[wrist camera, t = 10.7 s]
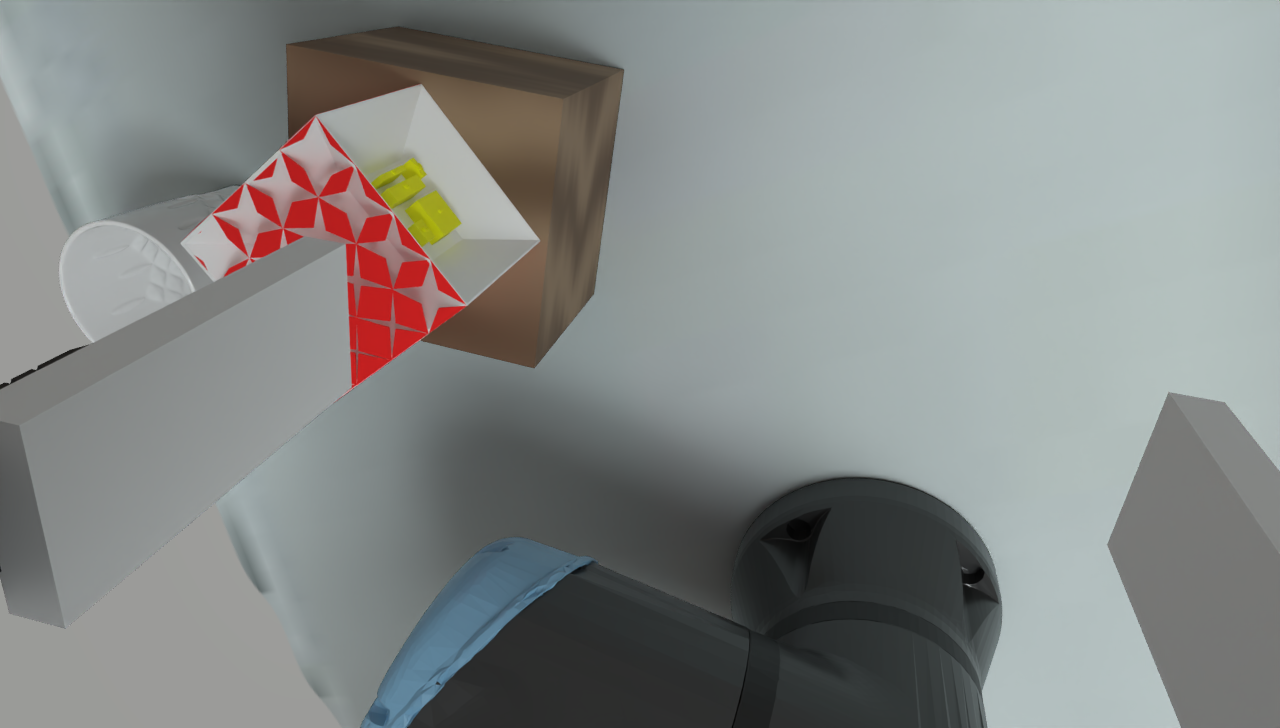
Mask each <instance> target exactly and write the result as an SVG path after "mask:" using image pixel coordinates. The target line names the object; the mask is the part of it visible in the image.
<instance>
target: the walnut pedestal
mask: <svg viewBox="0 0 1280 728" xmlns="http://www.w3.org/2000/svg"><path fill="white" fill-rule="evenodd" d="M286 54H287V95H288V135H289V139H290V138H291V137H292V136H293V135H294V134H295V133H296V132H297V131H298V130H299V129H300V128H301V127H302V126H303V125H304V124H306V123H307V122H308V121H309V120H310V119H311V118H312V117H313V116H314V115H316V114H319V113H323V112H326V111H329V110H333V109H336V108H340V107H343V106H347V105H349V104H353V103H356V102H360V101H363V100H366V99H370V98H373V97H377V96H380V95H383V94H387V93H390V92H394V91H397V90H398V91H399V90H400V89H404V88H407V87H411V86H414V85H418V84H422V85H423V87H424V88H425V89H426V91H427V92H428V93H429V95H430V96H431V97H432V98H433V100H434V101H435V102H436V104H437V105H438V106H439V108H440V109H441V110H442V112H443V113H444V114H445V116H446V117H447V118H448V120H449V121H450V122H451V124H452V125H453V126H454V127H455V129H456V130H457V131H458V133H459V134H460V135H461V137H462V138H463V139H464V141H465V142H466V143H467V145H468V146H469V147H470V149H471V150H472V151H473V152H474V154H475V155H476V156H477V158H478V159H479V160H480V162H481V163H482V164H483V166H484V167H485V168H486V170H487V171H488V172H489V174H490V175H491V176H492V178H493V179H494V180H495V181H496V183H497V184H498V185H499V187H500V188H501V189H502V191H503V192H504V193H505V195H506V196H507V197H508V199H509V200H510V201H511V203H512V204H513V205H514V207H515V208H516V209H517V210H518V212H519V213H520V214H521V216H522V217H523V218H524V220H525V221H526V222H527V224H528V225H529V226H530V228H531V229H532V230H533V232H534V233H535V234H536V235H537V237H538V238H539V239H540V243H538V244H537V245H536V246H535V247H533V248H532V249H531V250H530V251H529V252H528V253H527V254H525V255H524V256H523V257H522V258H521V259H520V260H519V261H518V262H516V263H515V264H514V265H513V266H512V267H511V268H510V269H508V270H507V271H506V272H505V273H504V274H503V275H502V276H500V277H499V278H498V279H497V280H496V281H495V282H494V283H493V284H491V285H490V286H489V287H488V288H487V289H486V290H485V291H483V292H482V293H481V294H480V295H479V296H478V297H477V298H476V299H474V300H473V301H472V302H471V303H470V304H469V305H468V306H466V307H465V308H464V309H462V310H461V311H459V312H458V313H457V314H455V315H454V316H452V317H451V318H450V319H448V320H447V321H446V322H444V323H443V324H441V325H440V326H439V327H437V328H436V329H435V330H433V331H432V332H430V333H429V334H428V335H427V336H425V337H424V338H423V339H421V340H420V341H424V342H428V343H432V344H436V345H440V346H445V347H449V348H453V349H457V350H461V351H465V352H469V353H473V354H478V355H482V356H486V357H490V358H494V359H498V360H502V361H506V362H511V363H515V364H519V365H523V366H527V367H531V368H535V367H536V366H537V364H538V363H539V362H540V361H541V359H542V358H543V357H544V356H545V354H546V353H547V352H548V351H549V349H550V348H551V347H552V346H553V344H554V343H555V342H556V341H557V339H558V338H559V337H560V336H561V334H562V333H563V332H564V331H565V329H566V328H567V327H568V326H569V324H570V323H571V322H572V321H573V319H574V318H575V317H576V316H577V314H578V313H579V312H580V311H581V309H582V308H583V307H584V306H585V304H586V303H587V302H588V301H589V299H590V298H591V297H592V296H593V294H594V289H595V282H596V274H597V267H598V259H599V252H600V245H601V237H602V230H603V222H604V215H605V208H606V200H607V193H608V185H609V178H610V171H611V163H612V156H613V148H614V141H615V134H616V126H617V119H618V112H619V104H620V97H621V89H622V82H623V75H624V70H623V69H618V68H613V67H607V66H602V65H597V64H592V63H586V62H581V61H576V60H571V59H566V58H560V57H555V56H550V55H545V54H539V53H534V52H529V51H524V50H519V49H513V48H508V47H503V46H498V45H492V44H487V43H482V42H477V41H471V40H466V39H461V38H456V37H451V36H445V35H440V34H435V33H430V32H424V31H419V30H414V29H409V28H404V27H392V28H385V29H379V30H373V31H366V32H360V33H354V34H348V35H341V36H335V37H329V38H322V39H316V40H310V41H303V42H297V43H291V44H286Z"/></svg>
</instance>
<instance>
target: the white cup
mask: <svg viewBox="0 0 1280 728" xmlns="http://www.w3.org/2000/svg"><path fill="white" fill-rule="evenodd" d="M239 187H240V186H236V185H234V186H230V187H226V188H223V189H220V190H217V191H213V192H209V193H204V194H198V195H195V194H192V195H189V196H186V197H181V198H176V199H172V200H169V201H166V202H161V203H156V204H153V205H150V206H147V207H143V208H140V209H137V210H133V211H130V212H126V213H122V214H118V215H115V216H112V217H108V218H105V219H101V220H97V221H94V222H90V223H88V224H85V225H83V226H81V227H80V228H78V229H77V230H75V231H74V232H73V233H72V234H71V235H70V236H69V238H68V239H67V241H66V242H65V244H64V246H63V249H62V252H61V255H60V259H59V282H60V288H61V292H62V295H63V298H64V301H65V304H66V306H67V308H68V310H69V312H70V314H71V316H72V317H73V319H74V321H75V322H76V324H77V325H78V327H79V328H80V330H81V331H82V332H83V333H84V334H85V336H86V337H87V338H88V339H89V340H90V341H91V342H92V343H94V342H96V341H98V340H100V339H101V338H103V337H105V336H107V335H109V334H111V333H113V332H115V331H117V330H119V329H121V328H123V327H125V326H127V325H129V324H131V323H133V322H135V321H137V320H139V319H141V318H143V317H145V316H147V315H149V314H151V313H153V312H155V311H157V310H159V309H161V308H163V307H165V306H167V305H169V304H171V303H173V302H175V301H177V300H179V299H181V298H183V297H185V296H187V295H189V294H191V293H193V292H195V291H197V290H199V289H201V288H203V287H205V286H207V285H209V284H211V283H213V281H212V280H211V278H210V277H209V276H208V275H207V274H206V273H205V271H204V270H203V269H202V268H201V267H200V266H199V264H198V263H197V262H196V261H195V260H194V259H193V257H192V256H191V255H190V254H189V253H188V252H187V251H186V249H185V248H184V247H183V246H182V245H181V244H180V243H181V242H182V240H183V239H184V238H185V237H186V236H187V235H188V234H189V233H190V232H191V231H192V230H193V229H194V228H195V227H196V226H197V225H198V224H199V223H200V222H201V221H203V220H204V219H205V218H206V217H207V216H208V215H210V214H211V213H212V212H213V211H215V210H216V209H217V208H218V207H219V206H220V205H221V204H222V203H223V202H224V201H225V200H226V199H227V198H228V197H229V196H230V195H231V194H233V193H234V192H235V191H236V190H237V189H238V188H239Z"/></svg>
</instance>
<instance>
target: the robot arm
mask: <svg viewBox="0 0 1280 728" xmlns="http://www.w3.org/2000/svg"><path fill="white" fill-rule="evenodd" d="M351 388H352V381H351V357H350V333H349V309H348V285H347V261H346V244H345V243H339V242H333V241H328V240H322V239H317V238H311V237H306V236H304V237H302V238H300V239H298V240H296V241H294V242H292V243H290V244H288V245H286V246H284V247H282V248H280V249H278V250H276V251H274V252H272V253H270V254H268V255H266V256H264V257H263V258H261V259H259V260H257V261H255V262H253V263H251V264H249V265H247V266H245V267H243V268H241V269H239V270H237V271H235V272H233V273H231V274H229V275H227V276H225V277H223V278H221V279H219V280H217V281H215V282H213V283H211V284H209V285H207V286H205V287H203V288H201V289H199V290H197V291H195V292H193V293H191V294H189V295H187V296H185V297H183V298H181V299H179V300H177V301H175V302H173V303H171V304H169V305H167V306H165V307H163V308H161V309H159V310H157V311H155V312H153V313H151V314H149V315H147V316H145V317H143V318H141V319H139V320H137V321H135V322H133V323H131V324H129V325H127V326H125V327H123V328H121V329H119V330H117V331H115V332H113V333H111V334H109V335H107V336H105V337H103V338H101V339H100V340H98V341H96V342H94V343H92V344H90V345H86V346H82V347H79V348H75V349H72V350H69V351H67V352H65V353H63V354H61V355H59V356H57V357H55V358H53V359H51V360H49V361H47V362H45V363H43V364H41V365H39V366H38V368H37V370H33V369H31V370H29V371H27V372H25V373H23V374H21V375H19V376H17V377H15V378H13V379H11V383H10V384H9V383H3V384H1V385H0V579H1V583H2V586H3V590H4V594H5V598H6V602H7V606H8V610H9V613H10V614H13V615H17V616H20V617H24V618H28V619H32V620H35V621H39V622H42V623H47V624H50V625H54V626H58V627H61V628H65V629H66V628H67V627H68V626H69V625H70V624H72V623H73V622H74V621H75V620H76V619H78V618H79V617H80V616H81V615H82V614H83V613H85V612H86V611H87V610H88V609H89V608H91V607H92V606H93V605H94V604H95V603H97V602H98V601H99V600H100V599H101V598H102V597H103V596H105V595H106V594H107V593H108V592H110V591H111V590H112V589H113V588H114V587H116V586H117V585H118V584H119V583H120V582H121V581H123V580H124V579H125V578H126V577H127V576H128V575H130V574H131V573H132V572H133V571H134V570H136V569H137V568H138V567H139V566H140V565H142V563H144V562H145V561H146V560H148V559H149V558H150V557H151V556H152V555H154V554H155V553H156V552H157V551H158V550H159V549H161V548H162V547H163V546H164V545H165V544H167V543H168V542H169V541H170V540H171V539H173V538H174V537H175V536H176V535H177V534H178V533H179V532H181V531H182V530H183V529H184V528H186V527H187V526H188V525H189V524H190V523H192V522H193V521H194V520H195V519H196V518H197V517H199V516H200V515H201V514H202V513H203V512H205V511H206V510H207V509H208V508H209V507H211V506H212V505H213V504H214V503H215V502H216V501H218V500H219V499H220V498H221V497H222V496H224V495H225V494H226V493H227V492H228V491H230V490H231V489H232V488H233V487H234V486H235V485H237V484H238V483H239V482H240V481H241V480H243V479H244V478H245V477H246V476H247V475H249V474H250V473H251V472H252V471H253V470H254V469H256V468H257V467H258V466H259V465H260V464H262V463H263V462H264V461H265V460H266V459H268V458H269V457H270V456H271V455H272V454H273V453H275V452H276V451H277V450H278V449H279V448H281V447H282V446H283V445H284V444H285V443H287V442H288V441H289V440H290V439H291V438H292V437H294V436H295V435H296V434H297V433H298V432H300V431H301V430H302V429H303V428H304V427H306V426H307V425H308V424H309V423H310V422H311V421H313V420H314V419H315V418H316V417H317V416H319V415H320V414H321V413H322V412H323V411H325V410H326V409H327V408H328V407H329V406H330V405H332V404H333V403H334V402H335V401H336V400H338V399H339V398H340V397H341V396H342V395H344V394H345V393H346V392H347V391H348V390H349V389H351ZM1107 545H1108V548H1109V550H1110V553H1111V555H1112V558H1113V560H1114V563H1115V565H1116V567H1117V570H1118V572H1119V575H1120V577H1121V580H1122V582H1123V585H1124V587H1125V590H1126V592H1127V595H1128V597H1129V600H1130V602H1131V605H1132V607H1133V609H1134V612H1135V614H1136V617H1137V619H1138V622H1139V624H1140V627H1141V629H1142V632H1143V634H1144V637H1145V639H1146V642H1147V644H1148V647H1149V649H1150V651H1151V654H1152V656H1153V659H1154V661H1155V664H1156V666H1157V669H1158V671H1159V674H1160V676H1161V679H1162V681H1163V684H1164V686H1165V689H1166V691H1167V693H1168V696H1169V698H1170V701H1171V703H1172V706H1173V708H1174V711H1175V713H1176V716H1177V718H1178V721H1179V723H1180V726H1181V728H1280V471H1279V470H1278V469H1277V468H1276V466H1275V465H1274V464H1273V463H1272V461H1271V460H1270V459H1269V457H1268V456H1267V455H1266V454H1265V452H1264V451H1263V450H1262V449H1261V447H1260V446H1259V445H1258V444H1257V442H1256V441H1255V440H1254V439H1253V437H1252V436H1251V435H1250V434H1249V432H1248V431H1247V430H1246V429H1245V427H1244V426H1243V425H1242V423H1241V422H1240V421H1239V420H1238V418H1237V417H1236V416H1235V415H1234V413H1233V412H1232V411H1231V410H1230V408H1229V407H1228V406H1227V405H1226V403H1225V402H1220V401H1214V400H1208V399H1203V398H1197V397H1192V396H1186V395H1181V394H1175V393H1170V392H1169V393H1168V395H1167V398H1166V400H1165V403H1164V405H1163V408H1162V410H1161V412H1160V415H1159V417H1158V420H1157V422H1156V425H1155V427H1154V430H1153V432H1152V435H1151V437H1150V440H1149V442H1148V445H1147V447H1146V450H1145V452H1144V455H1143V457H1142V460H1141V462H1140V465H1139V467H1138V470H1137V472H1136V475H1135V477H1134V480H1133V482H1132V485H1131V487H1130V489H1129V492H1128V494H1127V497H1126V499H1125V502H1124V504H1123V507H1122V509H1121V512H1120V514H1119V517H1118V519H1117V522H1116V524H1115V527H1114V529H1113V532H1112V534H1111V537H1110V539H1109V542H1108V544H1107ZM731 610H732V616H733V620H734V622H733V621H731V620H728V619H726V618H724V617H721V616H719V615H716V614H714V613H712V612H709V611H707V610H704V609H702V608H700V607H697V606H695V605H693V604H690V603H688V602H685V601H683V600H681V599H678V598H676V597H673V596H671V595H669V594H666V593H664V592H661V591H659V590H657V589H654V588H652V587H650V586H647V585H645V584H642V583H640V582H638V581H635V580H633V579H630V578H628V577H626V576H623V575H621V574H618V573H616V572H614V571H612V570H609V569H607V568H605V567H603V566H600V565H598V561H597V560H595V559H594V558H592V557H589V556H581V557H578V556H575V555H572V554H570V553H567V552H564V551H561V550H558V549H555V548H552V547H550V546H547V545H544V544H541V543H538V542H535V541H533V540H530V539H527V538H522V537H509V538H504V539H500V540H497V541H495V542H493V543H491V544H489V545H487V546H485V547H484V548H483V549H481V550H480V551H479V552H477V553H476V554H475V555H474V556H473V557H472V558H470V559H469V560H468V561H467V562H466V563H465V564H464V565H463V566H462V567H461V568H460V569H459V570H458V572H457V573H456V574H455V575H454V576H453V577H452V578H451V579H450V581H449V582H448V583H447V584H446V585H445V587H444V588H443V589H442V591H441V592H440V593H439V594H438V596H437V597H436V598H435V600H434V601H433V602H432V604H431V605H430V606H429V608H428V609H427V611H426V612H425V613H424V615H423V616H422V618H421V619H420V621H419V622H418V623H417V625H416V626H415V628H414V629H413V631H412V632H411V634H410V635H409V637H408V639H407V640H406V642H405V643H404V645H403V647H402V648H401V650H400V651H399V653H398V655H397V656H396V658H395V660H394V661H393V663H392V665H391V666H390V668H389V670H388V672H387V673H386V675H385V677H384V679H383V681H382V683H381V685H380V687H379V689H378V692H377V695H378V697H377V698H376V699H375V701H374V703H373V704H372V706H371V708H370V710H369V711H368V713H367V715H366V716H365V718H364V720H363V722H362V724H361V727H360V728H987V722H986V716H985V710H984V705H983V698H982V689H983V686H984V683H985V680H986V677H987V674H988V671H989V668H990V665H991V662H992V659H993V656H994V652H995V649H996V646H997V643H998V640H999V636H1000V632H1001V625H1002V601H1001V594H1000V589H999V585H998V580H997V575H996V571H995V567H994V564H993V561H992V558H991V556H990V554H989V551H988V550H987V548H986V546H985V544H984V543H983V541H982V540H981V538H980V537H979V535H978V534H977V533H976V532H975V530H974V529H973V528H972V527H971V526H970V525H969V524H968V522H966V521H965V520H964V519H963V518H962V517H961V516H960V515H959V514H958V513H956V512H955V511H954V510H953V509H951V508H950V507H948V506H947V505H945V504H944V503H942V502H940V501H939V500H937V499H935V498H933V497H931V496H929V495H927V494H925V493H923V492H921V491H918V490H916V489H913V488H910V487H907V486H904V485H900V484H897V483H892V482H887V481H881V480H873V479H840V480H832V481H826V482H821V483H817V484H814V485H810V486H807V487H804V488H802V489H799V490H797V491H795V492H792V493H790V494H788V495H786V496H785V497H783V498H781V499H780V500H778V501H777V502H775V503H774V504H772V505H771V506H770V507H769V508H767V509H766V510H765V511H764V512H763V513H762V514H761V515H760V516H759V517H758V518H757V519H756V520H755V521H754V523H753V524H752V525H751V527H750V528H749V530H748V531H747V533H746V534H745V536H744V538H743V540H742V542H741V545H740V547H739V550H738V554H737V557H736V562H735V567H734V571H733V576H732V582H731Z"/></svg>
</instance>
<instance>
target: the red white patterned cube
mask: <svg viewBox="0 0 1280 728" xmlns="http://www.w3.org/2000/svg"><path fill="white" fill-rule="evenodd" d="M304 236H306V237H311V238H317V239H322V240H328V241H333V242H339V243H345V244H346V261H347V285H348V309H349V333H350V357H351V381H352V388H351V389H349V390H348V391H347V392H346V393H345V394H347V393H348V392H350V391H351V390H352V389H354V388H355V387H357V385H359V384H360V383H362V382H363V381H365V380H366V379H367V378H369V377H370V376H371V375H373V374H374V373H376V372H377V371H378V370H380V369H381V368H383V367H384V366H385V365H387V364H388V363H389V362H391V361H392V360H394V359H395V358H396V357H398V356H399V355H400V354H402V353H403V352H405V351H406V350H407V349H409V348H410V347H411V346H413V345H414V344H416V343H417V342H418V341H420V340H421V339H423V338H424V337H425V336H427V335H428V334H429V333H430V332H432V331H433V330H435V329H436V328H437V327H439V326H440V325H441V324H443V323H444V322H446V321H447V320H448V319H450V318H451V317H452V316H454V315H455V314H457V313H458V312H459V311H461V310H462V309H464V308H465V307H466V306H468V305H469V304H470V303H471V302H472V301H473V300H474V299H476V298H477V297H478V296H479V295H480V294H481V293H482V292H483V291H485V290H486V289H487V288H488V287H489V286H490V285H491V284H493V283H494V282H495V281H496V280H497V279H498V278H499V277H500V276H502V275H503V274H504V273H505V272H506V271H507V270H508V269H510V268H511V267H512V266H513V265H514V264H515V263H516V262H518V261H519V260H520V259H521V258H522V257H523V256H524V255H525V254H527V253H528V252H529V251H530V250H531V249H532V248H533V247H535V246H536V245H537V244H538V243H540V239H539V238H538V237H537V235H536V234H535V233H534V232H533V230H532V229H531V228H530V226H529V225H528V224H527V222H526V221H525V220H524V218H523V217H522V216H521V214H520V213H519V212H518V210H517V209H516V208H515V207H514V205H513V204H512V203H511V201H510V200H509V199H508V197H507V196H506V195H505V193H504V192H503V191H502V189H501V188H500V187H499V185H498V184H497V183H496V181H495V180H494V179H493V178H492V176H491V175H490V174H489V172H488V171H487V170H486V168H485V167H484V166H483V164H482V163H481V162H480V160H479V159H478V158H477V156H476V155H475V154H474V152H473V151H472V150H471V149H470V147H469V146H468V145H467V143H466V142H465V141H464V139H463V138H462V137H461V135H460V134H459V133H458V131H457V130H456V129H455V127H454V126H453V125H452V124H451V122H450V121H449V120H448V118H447V117H446V116H445V114H444V113H443V112H442V110H441V109H440V108H439V106H438V105H437V104H436V102H435V101H434V100H433V98H432V97H431V96H430V95H429V93H428V92H427V91H426V89H425V88H424V87H423V85H422V84H418V85H414V86H411V87H407V88H404V89H400V90H399V91H398V90H397V91H394V92H390V93H387V94H383V95H380V96H377V97H373V98H370V99H366V100H363V101H360V102H356V103H353V104H349V105H347V106H343V107H340V108H336V109H333V110H329V111H326V112H323V113H319V114H316V115H314V116H313V117H312V118H311V119H310V120H309V121H308V122H307V123H306V124H304V125H303V126H302V127H301V128H300V129H299V130H298V131H297V132H296V133H295V134H294V135H293V136H292V137H291V138H290V139H289V140H288V141H287V142H286V143H285V144H284V145H283V146H282V147H281V148H280V149H279V150H278V151H277V152H276V153H275V154H274V155H273V156H272V157H271V158H270V159H269V160H267V161H266V162H265V163H264V164H263V165H262V166H261V167H260V168H259V169H258V170H257V171H256V172H255V173H254V174H253V175H252V176H251V177H249V178H248V179H247V180H246V181H245V182H244V183H243V184H242V185H241V186H240V187H239V188H238V189H237V190H236V191H235V192H234V193H233V194H231V195H230V196H229V197H228V198H227V199H226V200H225V201H224V202H223V203H222V204H221V205H220V206H219V207H218V208H217V209H216V210H215V211H213V212H212V213H211V214H210V215H208V216H207V217H206V218H205V219H204V220H203V221H201V222H200V223H199V224H198V225H197V226H196V227H195V228H194V229H193V230H192V231H191V232H190V233H189V234H188V235H187V236H186V237H185V238H184V239H183V240H182V242H181V243H180V244H181V245H182V246H183V247H184V248H185V249H186V251H187V252H188V253H189V254H190V255H191V256H192V257H193V259H194V260H195V261H196V262H197V263H198V264H199V266H200V267H201V268H202V269H203V270H204V271H205V273H206V274H207V275H208V276H209V277H210V278H211V280H212V281H213V282H215V281H217V280H219V279H221V278H223V277H225V276H227V275H229V274H231V273H233V272H235V271H237V270H239V269H241V268H243V267H245V266H247V265H249V264H251V263H253V262H255V261H257V260H259V259H261V258H263V257H264V256H266V255H268V254H270V253H272V252H274V251H276V250H278V249H280V248H282V247H284V246H286V245H288V244H290V243H292V242H294V241H296V240H298V239H300V238H302V237H304ZM345 394H344V395H345ZM344 395H342V396H341V397H343V396H344ZM341 397H340V398H341ZM340 398H339V399H340ZM339 399H338V400H339ZM336 401H337V400H336ZM336 401H335V402H336Z"/></svg>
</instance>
